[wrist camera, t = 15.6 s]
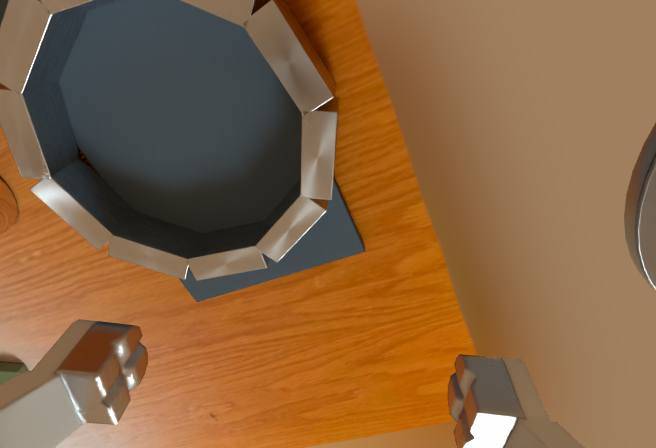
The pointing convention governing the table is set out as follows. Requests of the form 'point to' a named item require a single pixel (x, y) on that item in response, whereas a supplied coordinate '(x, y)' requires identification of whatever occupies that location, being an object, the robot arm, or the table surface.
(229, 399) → the table surface
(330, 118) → the ring
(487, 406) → the robot arm
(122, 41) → the mat
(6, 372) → the peg stand
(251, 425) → the table surface
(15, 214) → the brown wooden rounded piece
